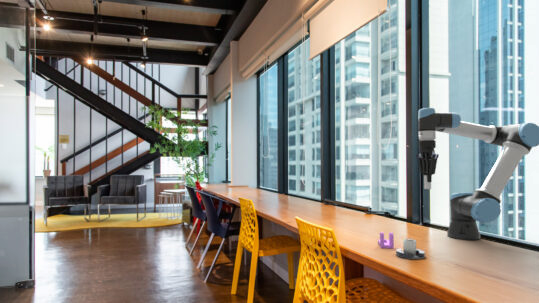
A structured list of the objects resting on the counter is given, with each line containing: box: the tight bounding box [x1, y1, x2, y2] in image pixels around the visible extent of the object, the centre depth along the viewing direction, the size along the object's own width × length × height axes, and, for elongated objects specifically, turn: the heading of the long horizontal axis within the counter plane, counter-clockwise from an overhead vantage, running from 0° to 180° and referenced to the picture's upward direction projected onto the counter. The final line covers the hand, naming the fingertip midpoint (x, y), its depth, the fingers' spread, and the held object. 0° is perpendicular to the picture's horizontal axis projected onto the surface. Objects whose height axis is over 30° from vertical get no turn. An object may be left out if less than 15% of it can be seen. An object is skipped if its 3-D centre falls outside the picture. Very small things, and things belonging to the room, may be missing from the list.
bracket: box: [377, 231, 395, 249], centre depth 167 cm, size 13×6×7 cm, turn 169°
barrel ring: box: [395, 248, 426, 260], centre depth 148 cm, size 11×11×2 cm
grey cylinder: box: [402, 238, 417, 256], centre depth 148 cm, size 5×5×6 cm
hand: (427, 188), depth 170 cm, fingers closed
